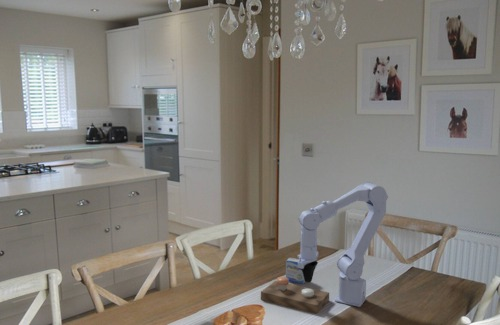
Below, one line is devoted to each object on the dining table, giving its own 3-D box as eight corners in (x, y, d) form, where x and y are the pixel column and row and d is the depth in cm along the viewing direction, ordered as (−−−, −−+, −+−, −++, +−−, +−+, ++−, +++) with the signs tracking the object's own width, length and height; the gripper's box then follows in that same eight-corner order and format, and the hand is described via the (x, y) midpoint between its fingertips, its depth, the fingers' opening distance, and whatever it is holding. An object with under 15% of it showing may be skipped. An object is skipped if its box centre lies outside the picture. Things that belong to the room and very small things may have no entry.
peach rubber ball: (290, 288, 163) (290, 278, 163) (285, 292, 160) (285, 282, 159) (280, 286, 166) (280, 275, 165) (274, 290, 162) (274, 279, 161)
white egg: (315, 300, 159) (315, 290, 158) (310, 305, 155) (311, 294, 154) (304, 298, 161) (304, 287, 160) (299, 302, 157) (299, 292, 157)
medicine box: (285, 280, 178) (285, 260, 177) (289, 276, 182) (289, 256, 181) (303, 284, 175) (303, 263, 174) (307, 280, 179) (307, 260, 178)
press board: (329, 300, 160) (329, 292, 160) (317, 313, 150) (317, 305, 150) (275, 287, 171) (275, 280, 171) (260, 299, 161) (260, 291, 160)
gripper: (306, 237, 164) (305, 272, 165) (289, 248, 151) (289, 286, 153) (324, 240, 160) (323, 276, 162) (308, 252, 148) (308, 290, 149)
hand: (308, 281), depth 157 cm, fingers closed
